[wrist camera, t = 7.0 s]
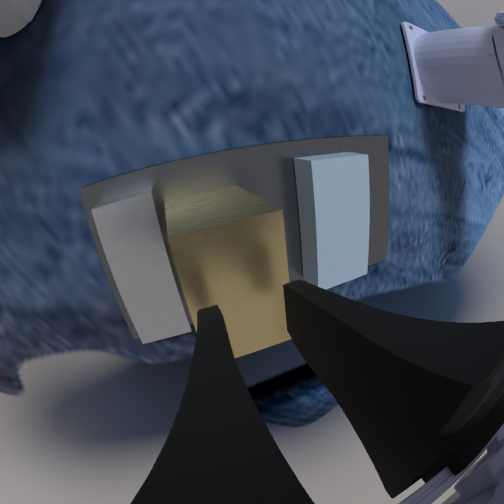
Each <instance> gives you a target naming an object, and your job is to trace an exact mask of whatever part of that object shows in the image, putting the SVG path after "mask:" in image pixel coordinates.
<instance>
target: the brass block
mask: <svg viewBox="0 0 504 504" xmlns="http://www.w3.org/2000/svg"><path fill="white" fill-rule="evenodd" d="M164 203H165V214H166V225H167V235H168V240H169V244H170V248H171V251H172V255H173V259H174V262H175V266H176V269H177V273H178V276H179V279H180V283H181V286H182V289H183V293H184V296H185V299H186V302H187V305H188V308H189V312H190V315H191V318H192V321H193V324H194V327H195V330H196V332H197V312H198V310H199V309H203V308H206V307H210V306H213V305H218V307H219V308H220V310H221V312H222V314H223V317H224V321H225V325H226V328H227V332H228V336H229V340H230V343H231V347H232V351H233V354H234V358H237V357H240V356H243V355H246V354H249V353H252V352H256V351H259V350H262V349H264V348H267V347H270V346H273V345H276V344H278V343H281V342H284V341H287V340H290V339H292V338H291V337H290V335H289V333H288V331H287V325H286V313H285V302H284V291H283V284H286V283H289V273H288V262H287V251H286V240H285V230H284V220H283V211H282V209H280V208H278V207H276V206H275V205H273V204H271V203H269V202H267V201H265V200H263V199H262V198H260V197H258V196H256V195H254V194H252V193H250V192H248V191H246V190H244V189H243V188H241V187H239V186H237V185H236V186H231V187H226V188H221V189H217V190H212V191H208V192H204V193H199V194H195V195H191V196H187V197H182V198H178V199H174V200H170V201H167V202H164Z"/></svg>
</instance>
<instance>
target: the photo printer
mask: <svg viewBox="0 0 504 504" xmlns="http://www.w3.org/2000/svg"><path fill="white" fill-rule="evenodd" d="M41 2H42V0H0V37H8V36H11V35H13V34H15V33H17V32H18V31H20V30H21V29H22V28H24V27H25V26H26V25H27V24H28V22H31V20H32V19H33V17H34V15H35V14H36V12H37V10H38V8H39V6H40V4H41Z"/></svg>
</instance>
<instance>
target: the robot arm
mask: <svg viewBox="0 0 504 504" xmlns="http://www.w3.org/2000/svg"><path fill="white" fill-rule="evenodd" d="M495 21H496V24H497V25H495V26H485V27H470V28H458V29H450V30H442V31H436V32H430V33H429V32H427V31H425V30H423V29H421V28H419V27H417V26H414V25H412V24H410V23H408V22H402V23H401V26H402V30H403V34H404V38H405V42H406V47H407V51H408V56H409V61H410V67H411V72H412V78H413V85H414V92H415V98H416V101H417V102H419V103H423V104H428V105H433V106H438V107H443V108H447V109H451V110H455V111H459V112H464V111H465V104H468V105H479V106H488V107H496V108H503V109H504V11H499V12H497V14H496V17H495ZM283 291H284V302H285V313H286V325H287V331H288V333H289V335H290V337H291V338H292V340H293V342H294V344H295V346H296V347H297V349H298V351H299V352H300V354H301V355H302V357H303V358H304V359H305V360H306V362H307V363H308V364H309V366H310V367H311V368H312V370H313V371H314V372H315V374H316V375H317V376H318V377H319V379H320V380H321V381H322V382H323V384H324V385H325V386H326V388H327V389H328V390H329V391H330V393H331V394H332V395H333V397H334V398H335V399H336V401H337V402H338V404H339V405H340V406H341V408H342V410H343V412H344V413H345V415H346V416H347V418H348V420H349V421H350V423H351V425H352V426H353V428H354V430H355V432H356V433H357V435H358V437H359V438H360V440H361V442H362V444H363V446H364V447H365V449H366V451H367V453H368V455H369V457H370V458H371V460H372V462H373V464H374V466H375V468H376V470H377V472H378V475H379V477H380V479H381V481H382V483H383V485H384V487H385V490H386V491H387V493H388V494H389V495H390V497H391V498H394V497H396V496H397V495H399V494H400V493H401V492H403V491H404V490H406V489H407V488H409V487H410V486H411V485H413V484H414V483H415V482H416V481H418V480H419V479H420V478H422V479H423V481H424V482H425V484H424V485H423V486H422V487H420V488H419V489H418V490H417V491H415V492H414V493H413V494H411V495H410V496H408V497H407V498H406V499H404V500H403V501H402V502H400V503H399V504H431V503H432V502H434V501H435V500H436V499H437V498H438V497H439V496H441V495H442V494H443V493H444V492H445V491H446V490H448V489H449V488H450V487H451V486H452V485H453V484H454V483H455V482H456V481H457V480H458V479H459V478H460V477H461V476H462V475H463V474H464V473H465V472H466V471H467V470H468V469H469V468H470V467H471V466H472V465H473V463H475V461H476V460H477V459H478V458H479V457H480V456H481V455H482V454H483V452H484V451H485V450H486V449H487V454H486V455H484V456H483V457H482V458H481V459H480V460H479V461H478V462H476V463H475V464H474V465H473V466H472V467H471V468H470V469H469V470H468V471H467V472H466V473H465V474H464V475H463V476H462V477H461V479H460V480H459V481H458V482H457V484H456V485H455V487H454V489H455V490H456V492H455V493H454V494H453V495H451V496H450V497H449V498H448V499H447V500H446V501H444V502H443V503H442V504H504V321H496V322H483V323H455V322H441V321H434V320H426V319H419V318H413V317H409V316H404V315H400V314H395V313H391V312H387V311H384V310H380V309H377V308H374V307H371V306H368V305H365V304H362V303H359V302H356V301H353V300H351V299H348V298H345V297H343V296H340V295H338V294H335V293H333V292H330V291H328V290H325V289H323V288H320V287H318V286H316V285H313V284H311V283H308V282H305V281H303V280H300V279H299V280H296V281H292V282H289V283H286V284H283ZM131 504H314V502H313V501H312V499H311V498H310V497H309V495H308V494H307V492H306V491H305V489H304V488H303V486H302V485H301V483H300V482H299V481H298V479H297V477H296V475H295V474H294V472H293V471H292V469H291V467H290V466H289V464H288V463H287V461H286V459H285V458H284V456H283V455H282V453H281V451H280V449H279V448H278V446H277V444H276V443H275V441H274V439H273V437H272V435H271V433H270V432H269V430H268V428H267V426H266V424H265V422H264V421H263V419H262V417H261V415H260V413H259V411H258V409H257V407H256V405H255V403H254V401H253V399H252V397H251V395H250V393H249V391H248V389H247V387H246V385H245V383H244V381H243V378H242V376H241V374H240V372H239V369H238V367H237V364H236V361H235V358H234V354H233V351H232V347H231V343H230V340H229V336H228V332H227V328H226V325H225V321H224V317H223V314H222V312H221V310H220V308H219V307H218V305H213V306H210V307H206V308H203V309H199V310H198V312H197V333H196V341H195V348H194V354H193V360H192V364H191V368H190V373H189V377H188V381H187V385H186V388H185V392H184V395H183V398H182V401H181V405H180V407H179V410H178V413H177V415H176V418H175V420H174V423H173V425H172V428H171V430H170V433H169V435H168V437H167V440H166V442H165V444H164V446H163V448H162V450H161V452H160V454H159V456H158V458H157V460H156V462H155V464H154V466H153V468H152V470H151V472H150V473H149V475H148V477H147V479H146V480H145V482H144V483H143V485H142V487H141V488H140V490H139V491H138V493H137V494H136V496H135V497H134V499H133V501H132V502H131Z"/></svg>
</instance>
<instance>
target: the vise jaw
mask: <svg viewBox="0 0 504 504" xmlns="http://www.w3.org/2000/svg"><path fill="white" fill-rule="evenodd" d="M294 167H295V176H296V186H297V197H298V208H299V220H300V232H301V246H302V262H303V278H304V279H305V280H306V281H307V282H308V283H311V284H313V285H316V286H318V287H320V288H323V289H325V290H326V289H329V288H331V287H334V286H337V285H339V284H342V283H345V282H347V281H350V280H352V279H355V278H358V277H360V276H363V275H365V274H367V268H368V251H369V222H370V190H369V161H368V154H360V153H352V152H342V153H332V154H323V155H314V156H306V157H299V158H294Z"/></svg>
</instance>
